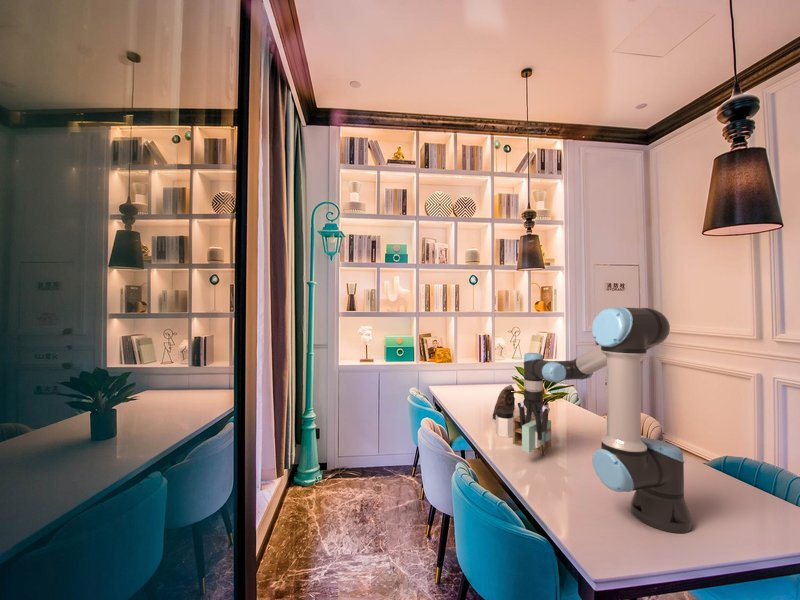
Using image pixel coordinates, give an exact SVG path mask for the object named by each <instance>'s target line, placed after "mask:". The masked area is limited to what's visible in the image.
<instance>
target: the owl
mask: <svg viewBox="0 0 800 600" xmlns="http://www.w3.org/2000/svg"><path fill="white" fill-rule="evenodd" d="M511 391H515V388H514V387H513V385H512V384H509V385H507V386H505V387H503V389H502V390H501V391H500V392H499V395H498V397H497V399H496V403H495V405H494V409H493V412H492V420H494V421H496V415H497V410H499V409H506V410H511V411H512V412H513V418H515V417H514V416H515V415H514V412H515V406H516V405H515V403H516V402H515V400H516V398H515V392H511Z"/></svg>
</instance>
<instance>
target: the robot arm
mask: <svg viewBox="0 0 800 600" xmlns="http://www.w3.org/2000/svg"><path fill="white" fill-rule="evenodd" d="M670 331H671V328H670V322H669V319H668V318H667V317H666V316H665V315H664V314H663V313H662V312H660V311H658V310H657V309H654V308H649V307H624V306H623V307H621V306H619V307H608V308H605V309H603V310H601V311H600V312H599V313H598V314H597V315H596V316H595V318H594V319H593V321H592V326H591V333H592V337H593V338H594V339H595V342H596V343H597V344H598V345H597V346H595V347H593V348H591V349H590V350H588V351H586V352H584V353H582V354H581V355H579V356H578V357H576V358H574V359H572V360H553V361H552V360H545V359H544V356H543V354H542V353H538V352H525V354H524V356H523V401H519V402H518V403H517V406H518V411H519V416H520V425H521V426H522V425H524V424H527V423H529V422H531V416H532V415H533V414H534V417H535V419H536V426H537V431H536V432H535V448H538V447H540V440H541V439H542V432H545V431H546V430H547V422H548V420H549V412H550V411H551V408H550V407H547V406H545V404H544V402H543V400H544V391H543V390H544V380H545V381H547V382H549V383H550V382H551V383H561V382H562V381H570V380H586V379H590V378H591V377H592V376H593V375H594V372H598V371H599V370H601V369H603V368H605V367H606V434H605V435H604V436H603V437H602V438H601V443H600V444H601V445H600V447H601V448H599V449H597V450H595V452H593V455H592V457H591V458H592V466H593V469H594V471H595V474H596V475H597V477H598V478H599V480H600V482H601V483H602V484H603V485H604V486H605V487H606V488H607V489H610V490H611V491H614V492H617V493H623V492H625V493H630V492H633V491H634V494H633V496H632V499H631V502H630V512H631V514H632V515H633V516H634V517H635V518H636V519H638V521H640V522H642V523H644V524H646V525H647V526H650V527H652V528H655V529H658V530H661V531H664V532H667V533H674V534H675V533H677V534H685V533H689V532H691V531H692V529H693V519H692V516H691V514H690V510H689V509H688V506H687V503H686V500H685V475H684V474H685V472H684V471H685V470H684V464H685V460H684V454H683V450H681V448H679V447H678V446H677V445H674V444H672V443H669V442H667V441H666V442H665V441H663V440H659V439H655V438H651V437H644V436H643V437H642V433H641V432H642V431H641V430H642V425H641V424H642V423H641V419H642V416H641V413H642V412H641V407H642V406H641V405H642V403H641V396H642V395H641V393H642V392H641V389H642V388H641V359H642V358H644V356H646V355H647V352H648V351H647V350H650V349H652V348H654V347H657V346H658V345H660V344H662V343H663V342H664V341H665V340H667V338H668V336H670V335H669V334H670ZM525 409H526V410H525ZM541 410H542V413H541ZM541 414H542V415H541ZM525 415H526V420H525ZM541 416H542V417H541ZM541 418H542V423H541Z"/></svg>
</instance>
